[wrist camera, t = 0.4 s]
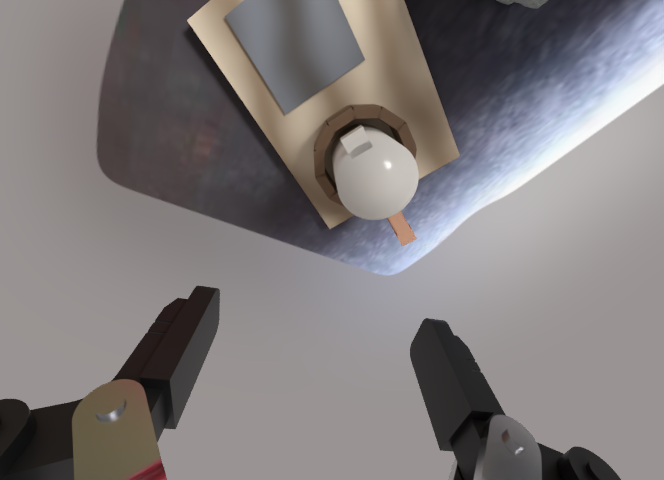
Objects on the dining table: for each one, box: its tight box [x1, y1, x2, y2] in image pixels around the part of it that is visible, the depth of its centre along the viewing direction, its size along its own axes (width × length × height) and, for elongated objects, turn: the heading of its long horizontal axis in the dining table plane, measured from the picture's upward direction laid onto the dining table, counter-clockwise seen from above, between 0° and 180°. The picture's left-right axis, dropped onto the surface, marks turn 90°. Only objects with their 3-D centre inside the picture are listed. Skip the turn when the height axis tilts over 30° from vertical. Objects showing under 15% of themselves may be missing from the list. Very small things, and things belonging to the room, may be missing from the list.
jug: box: [331, 124, 419, 246], centre depth 26 cm, size 11×6×10 cm, turn 31°
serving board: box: [187, 0, 460, 229], centre depth 26 cm, size 17×24×5 cm
